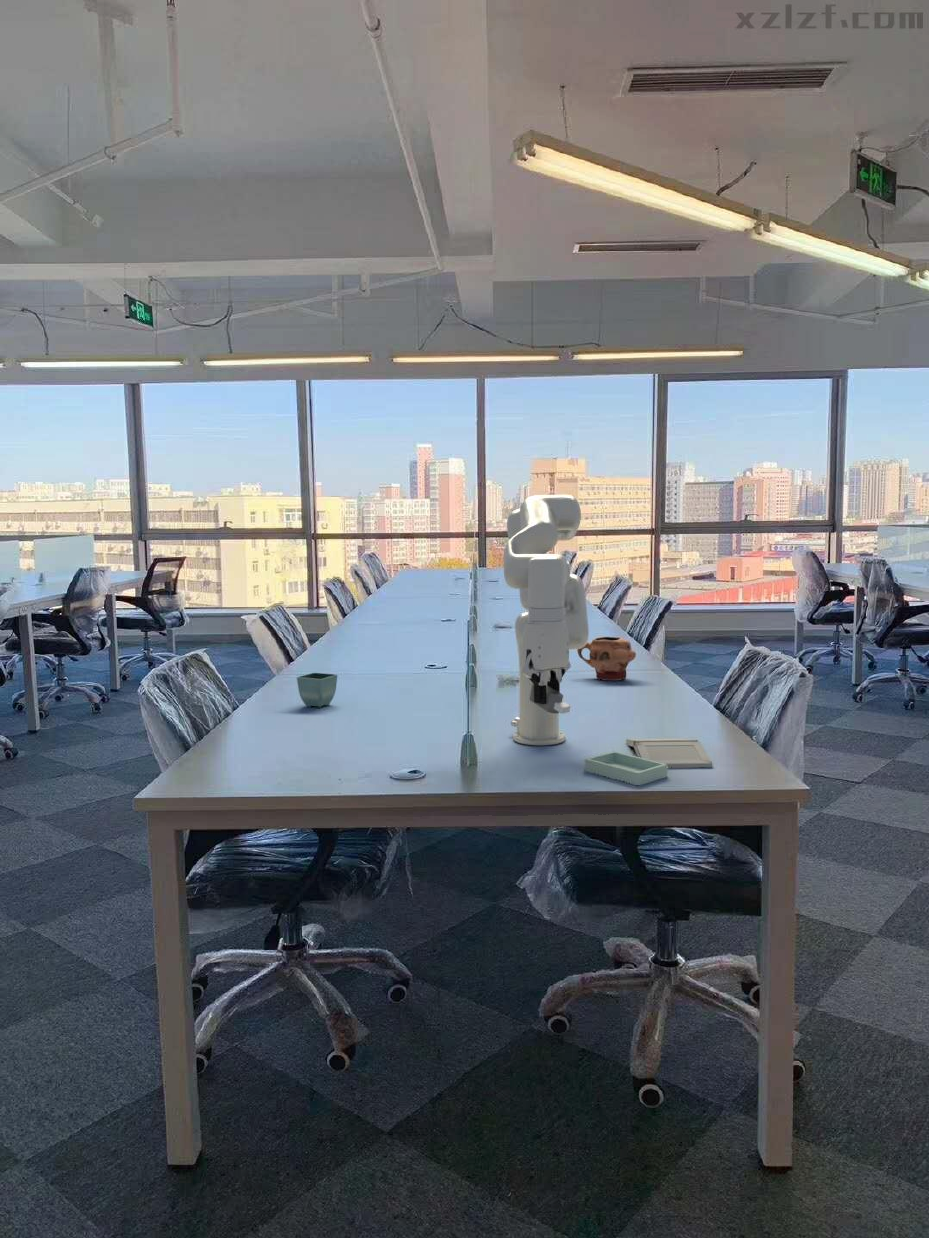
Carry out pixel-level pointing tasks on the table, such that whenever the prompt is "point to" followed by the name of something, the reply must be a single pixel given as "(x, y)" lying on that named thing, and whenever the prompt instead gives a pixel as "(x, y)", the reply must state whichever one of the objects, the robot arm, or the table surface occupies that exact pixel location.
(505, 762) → the table surface
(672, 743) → the gadget
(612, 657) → the sculpted clay mug
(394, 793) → the table surface
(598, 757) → the tray
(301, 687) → the flower pot
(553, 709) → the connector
